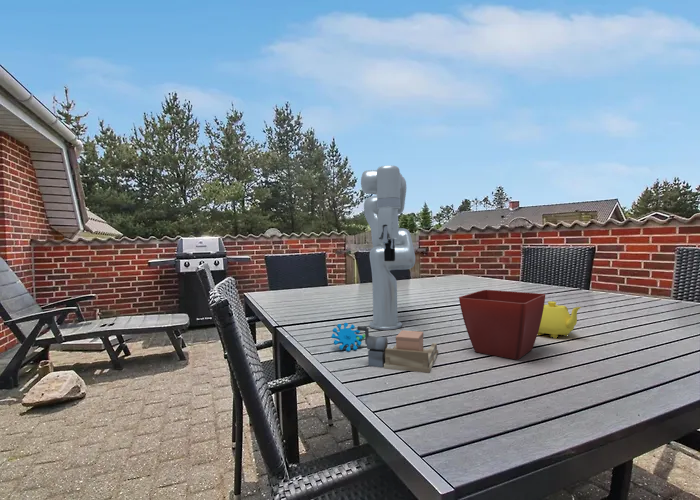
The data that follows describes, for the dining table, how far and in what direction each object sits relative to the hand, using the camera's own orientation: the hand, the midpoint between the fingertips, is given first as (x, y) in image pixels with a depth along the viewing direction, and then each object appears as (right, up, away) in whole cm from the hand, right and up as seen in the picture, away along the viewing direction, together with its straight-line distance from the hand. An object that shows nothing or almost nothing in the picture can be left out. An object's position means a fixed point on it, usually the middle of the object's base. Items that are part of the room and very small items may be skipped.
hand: (389, 260), depth 123 cm
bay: (+1, -28, -15) cm, 32 cm away
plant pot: (+33, -27, -10) cm, 44 cm away
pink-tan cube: (+4, -26, -19) cm, 33 cm away
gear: (-13, -28, -4) cm, 31 cm away
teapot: (+58, -26, +7) cm, 63 cm away
